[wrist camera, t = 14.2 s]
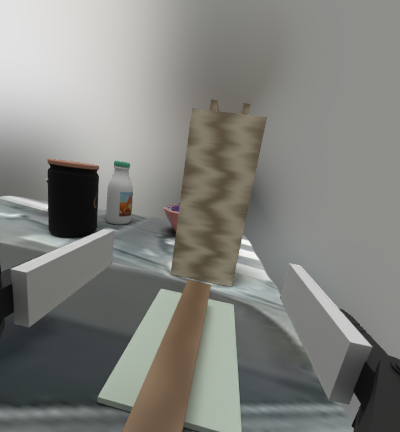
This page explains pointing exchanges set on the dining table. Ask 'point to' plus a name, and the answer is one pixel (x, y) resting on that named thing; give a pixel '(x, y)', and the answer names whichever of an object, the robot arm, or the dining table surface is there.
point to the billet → (172, 367)
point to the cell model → (172, 214)
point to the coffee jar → (72, 198)
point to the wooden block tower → (216, 192)
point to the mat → (204, 369)
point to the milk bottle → (119, 195)
